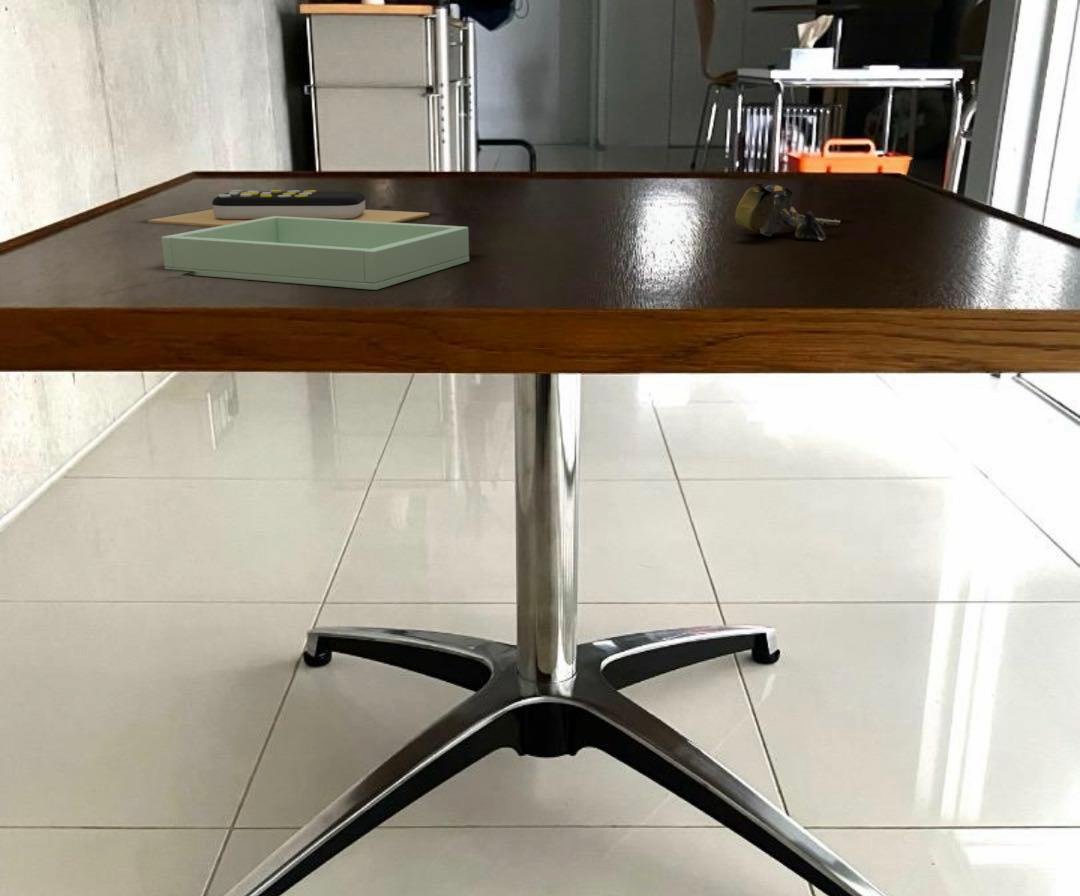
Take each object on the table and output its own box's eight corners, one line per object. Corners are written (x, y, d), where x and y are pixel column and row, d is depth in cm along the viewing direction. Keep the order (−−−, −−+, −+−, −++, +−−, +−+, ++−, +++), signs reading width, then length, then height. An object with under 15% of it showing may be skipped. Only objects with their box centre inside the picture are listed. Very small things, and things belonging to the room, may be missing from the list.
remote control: (357, 220, 104) (355, 196, 104) (209, 220, 105) (207, 196, 104) (368, 211, 110) (367, 189, 109) (228, 212, 111) (226, 189, 110)
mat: (148, 225, 106) (147, 220, 105) (247, 208, 117) (247, 203, 117) (344, 238, 98) (344, 231, 98) (429, 218, 110) (429, 212, 110)
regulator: (801, 230, 107) (700, 214, 96) (822, 187, 105) (721, 166, 94) (868, 267, 103) (771, 256, 92) (891, 223, 101) (794, 206, 90)
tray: (164, 273, 82) (160, 236, 81) (276, 248, 93) (273, 215, 92) (376, 290, 76) (374, 251, 75) (469, 261, 87) (468, 226, 86)
